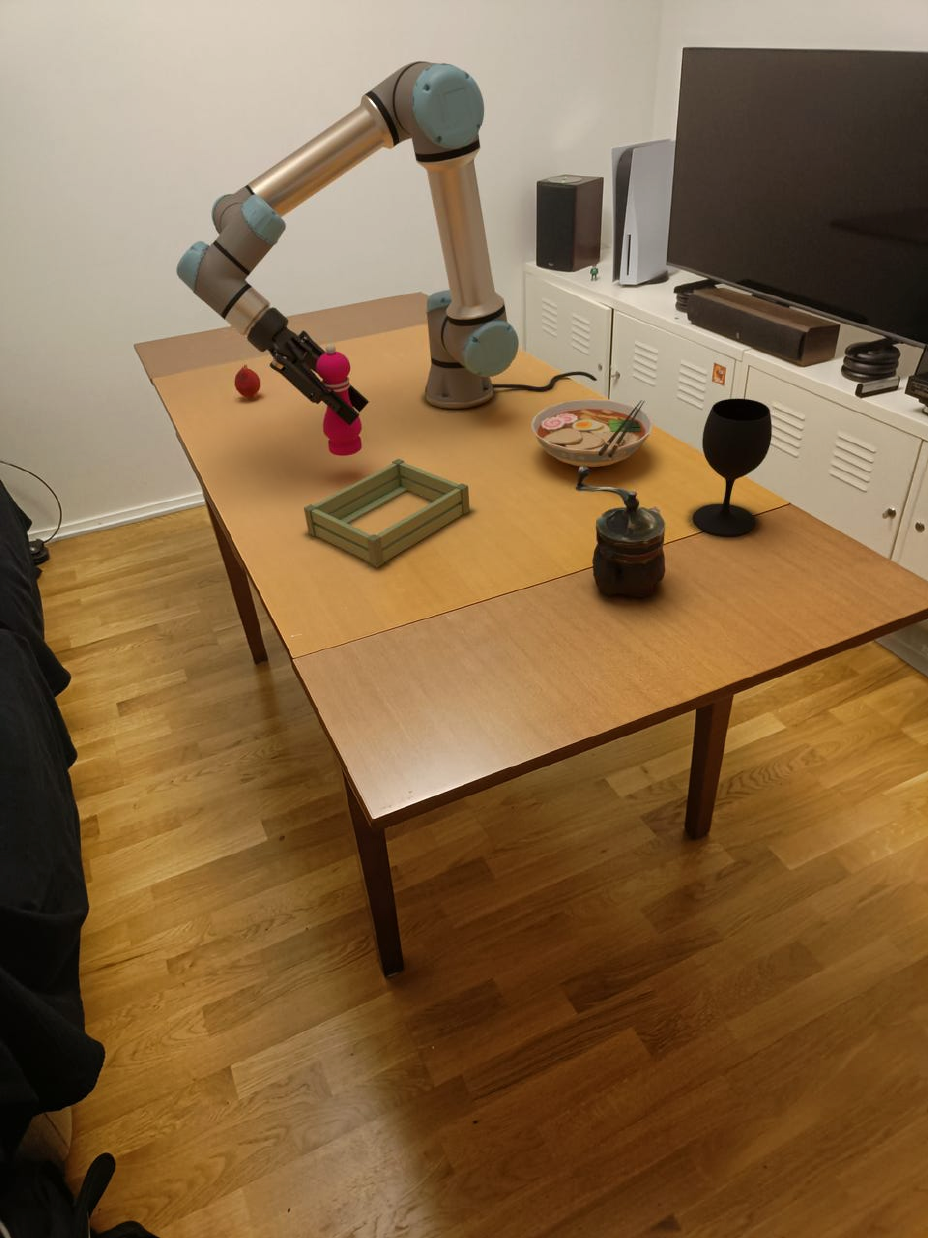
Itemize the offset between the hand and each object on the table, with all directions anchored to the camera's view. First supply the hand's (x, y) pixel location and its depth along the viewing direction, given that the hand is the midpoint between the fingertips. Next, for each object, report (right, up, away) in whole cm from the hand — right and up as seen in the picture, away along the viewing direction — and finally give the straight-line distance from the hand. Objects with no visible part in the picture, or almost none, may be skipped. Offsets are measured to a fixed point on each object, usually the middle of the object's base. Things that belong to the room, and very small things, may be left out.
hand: (359, 413), depth 155 cm
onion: (-31, +14, +43) cm, 54 cm away
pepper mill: (-3, -6, +5) cm, 8 cm away
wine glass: (+63, -21, -12) cm, 68 cm away
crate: (+6, -21, -6) cm, 22 cm away
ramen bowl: (+44, -7, +9) cm, 45 cm away
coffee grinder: (+42, -33, -25) cm, 59 cm away
